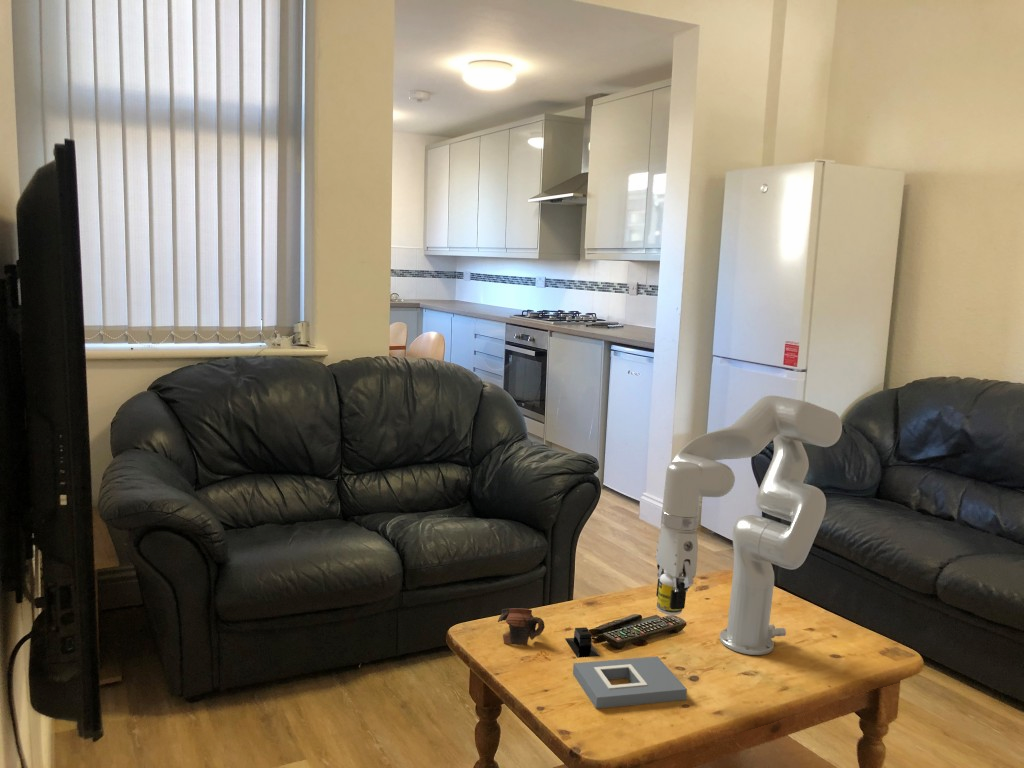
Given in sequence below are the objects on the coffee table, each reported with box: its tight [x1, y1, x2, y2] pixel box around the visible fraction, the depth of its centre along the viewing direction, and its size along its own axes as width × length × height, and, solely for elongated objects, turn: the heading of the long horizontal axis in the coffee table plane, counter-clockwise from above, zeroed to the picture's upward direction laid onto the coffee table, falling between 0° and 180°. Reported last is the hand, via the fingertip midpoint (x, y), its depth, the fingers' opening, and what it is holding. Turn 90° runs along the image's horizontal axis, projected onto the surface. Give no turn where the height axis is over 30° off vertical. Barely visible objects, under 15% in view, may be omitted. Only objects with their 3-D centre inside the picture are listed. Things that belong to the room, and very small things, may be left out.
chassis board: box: [572, 655, 688, 710], centre depth 170 cm, size 20×14×3 cm
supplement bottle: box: [656, 570, 683, 616], centre depth 170 cm, size 5×5×10 cm
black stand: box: [564, 626, 601, 659], centre depth 186 cm, size 12×7×5 cm, turn 14°
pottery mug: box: [497, 607, 546, 646], centre depth 190 cm, size 12×10×8 cm
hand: (670, 601), depth 171 cm, fingers closed on supplement bottle, 5 cm apart
